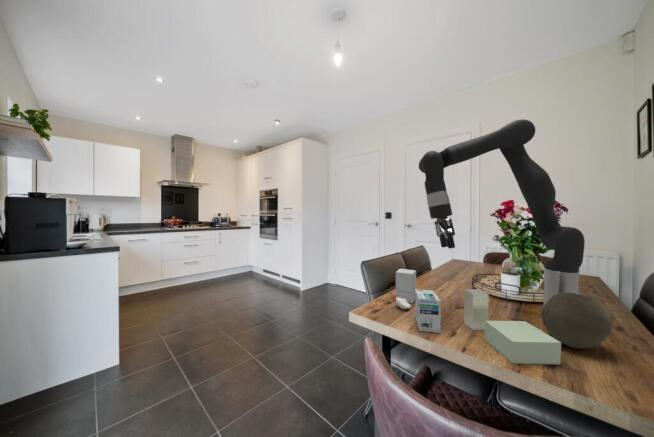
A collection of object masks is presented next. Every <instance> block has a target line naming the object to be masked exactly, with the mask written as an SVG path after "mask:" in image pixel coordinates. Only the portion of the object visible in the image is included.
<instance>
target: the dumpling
mask: <svg viewBox="0 0 654 437" xmlns="http://www.w3.org/2000/svg"><path fill="white" fill-rule="evenodd" d="M395 303H396V305H397V306H398V307H399V308H400V309H402V310H403V311H404V310H408V309H411V308H412V305H411V303H408V302H407V300H406V299H401V298H396V297H395Z"/></svg>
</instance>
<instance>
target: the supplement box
mask: <svg viewBox="0 0 654 437" xmlns="http://www.w3.org/2000/svg"><path fill="white" fill-rule="evenodd" d="M415 289H417V270H414V269H407V268H399V269H397V271H395V299H396V298H401V299H406V300H407V302H408V303H409V304H413V303H415Z"/></svg>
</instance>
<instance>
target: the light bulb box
mask: <svg viewBox="0 0 654 437" xmlns="http://www.w3.org/2000/svg"><path fill="white" fill-rule="evenodd" d="M414 303H415V304H414V305H415V306H414V308H415V310H414V319H415V322H416V325H417V328H418V330H419V332H426V333H427V332H428V333H439V334H441V333H442V332H441V328H442V327H441V324H442V322H441V320H442V319H441V318H442V316H441V315H442V312H441V311H442V300H441V298H440V297H439V296H438V295H437V294H436V292H435V290H434V289H433V290H432V289H421V288H420V289H419V288H416V289H415V300H414Z"/></svg>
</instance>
